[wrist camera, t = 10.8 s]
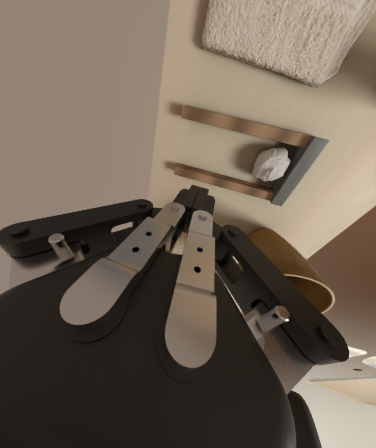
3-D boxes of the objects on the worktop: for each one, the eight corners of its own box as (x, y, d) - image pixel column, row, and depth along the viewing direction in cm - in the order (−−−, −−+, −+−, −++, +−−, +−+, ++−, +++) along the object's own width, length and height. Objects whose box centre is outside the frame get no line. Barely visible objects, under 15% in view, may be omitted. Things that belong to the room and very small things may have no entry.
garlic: (262, 183, 29) (266, 194, 25) (244, 164, 27) (246, 172, 23) (292, 159, 25) (304, 168, 21) (274, 136, 24) (283, 141, 20)
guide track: (317, 137, 23) (329, 140, 20) (277, 197, 30) (281, 206, 27) (186, 105, 24) (180, 104, 21) (177, 170, 31) (172, 176, 29)
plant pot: (278, 263, 41) (298, 327, 28) (226, 250, 42) (224, 306, 30) (312, 223, 31) (364, 294, 19) (244, 209, 33) (252, 265, 21)
